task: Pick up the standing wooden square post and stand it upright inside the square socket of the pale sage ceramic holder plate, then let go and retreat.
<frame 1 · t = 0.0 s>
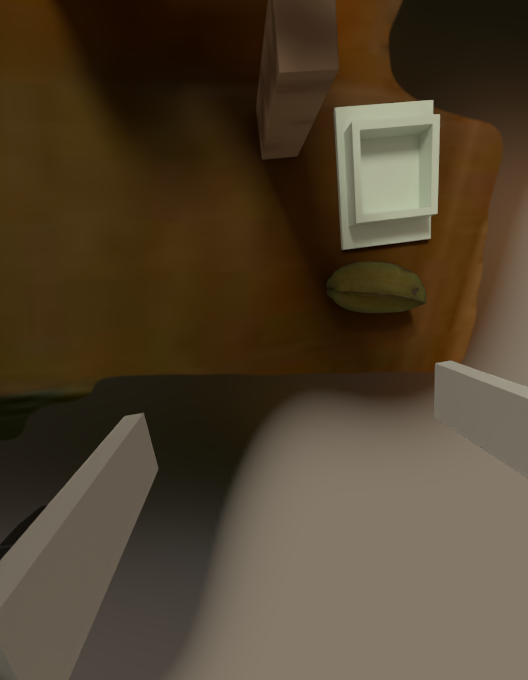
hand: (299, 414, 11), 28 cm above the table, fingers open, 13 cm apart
fruit: (361, 291, 39), on the table
holder plate: (383, 179, 36), on the table
wooden square post: (277, 132, 33), on the table
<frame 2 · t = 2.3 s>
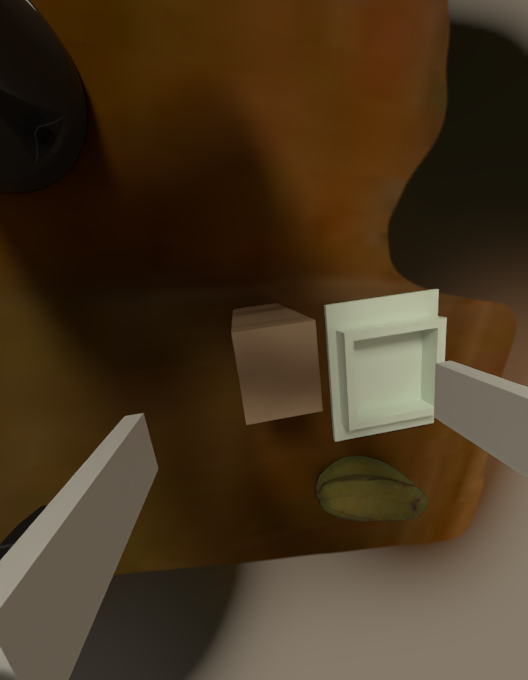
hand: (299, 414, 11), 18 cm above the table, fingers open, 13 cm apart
fruit: (356, 474, 35), on the table
holder plate: (381, 367, 31), on the table
wooden square post: (258, 331, 29), on the table
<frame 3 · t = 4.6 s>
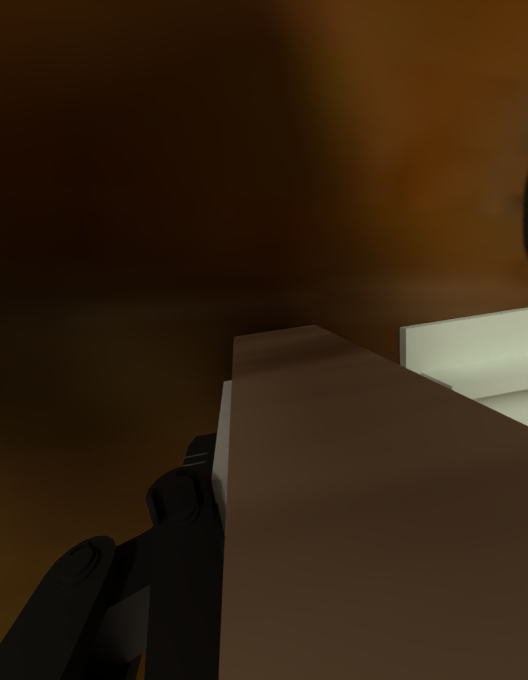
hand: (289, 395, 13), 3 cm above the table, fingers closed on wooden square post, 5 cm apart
holder plate: (489, 431, 18), on the table
wooden square post: (280, 376, 16), on the table, touching gripper
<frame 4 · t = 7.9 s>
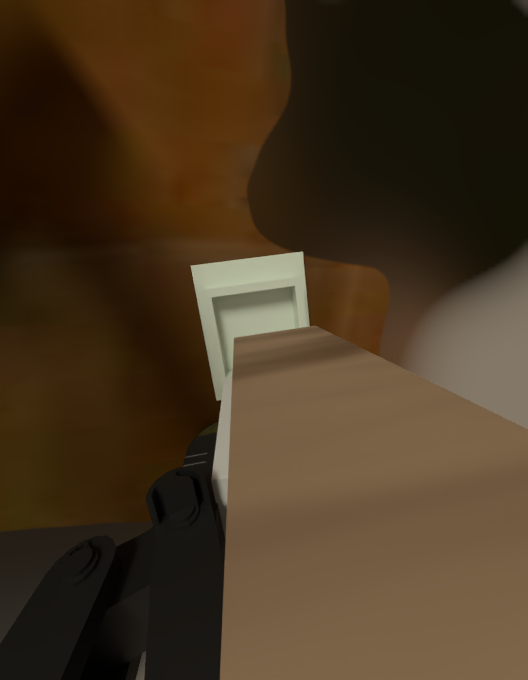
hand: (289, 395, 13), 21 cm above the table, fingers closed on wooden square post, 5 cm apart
holder plate: (257, 328, 33), on the table
wooden square post: (280, 377, 16), point 18 cm above the table, touching gripper
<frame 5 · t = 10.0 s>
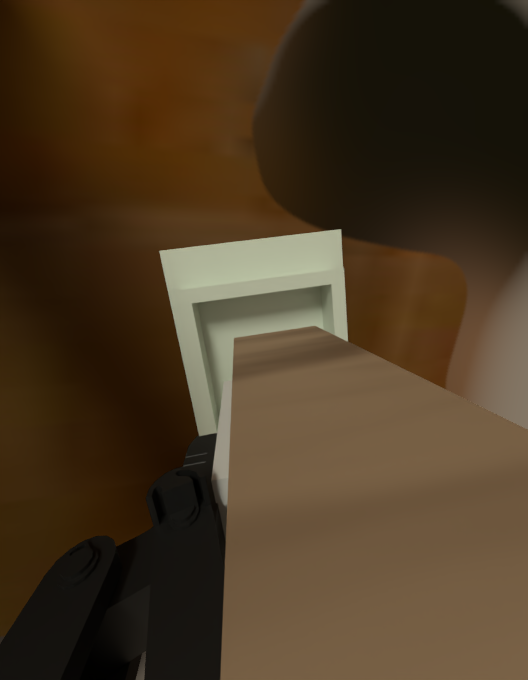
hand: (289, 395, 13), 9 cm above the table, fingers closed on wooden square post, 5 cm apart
holder plate: (266, 350, 21), on the table
wooden square post: (280, 378, 16), point 6 cm above the table, touching gripper
when the fingers open (5 cm above the table, at t = 11.5 s): wooden square post drops 2 cm, resting on holder plate.
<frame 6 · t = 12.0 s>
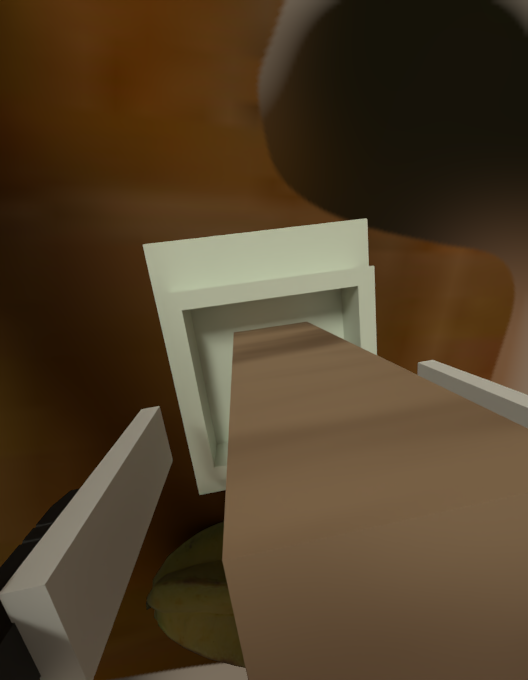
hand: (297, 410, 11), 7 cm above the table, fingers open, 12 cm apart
fruit: (248, 547, 21), on the table
holder plate: (274, 365, 18), on the table
wooden square post: (276, 368, 17), point 1 cm above the table, touching holder plate
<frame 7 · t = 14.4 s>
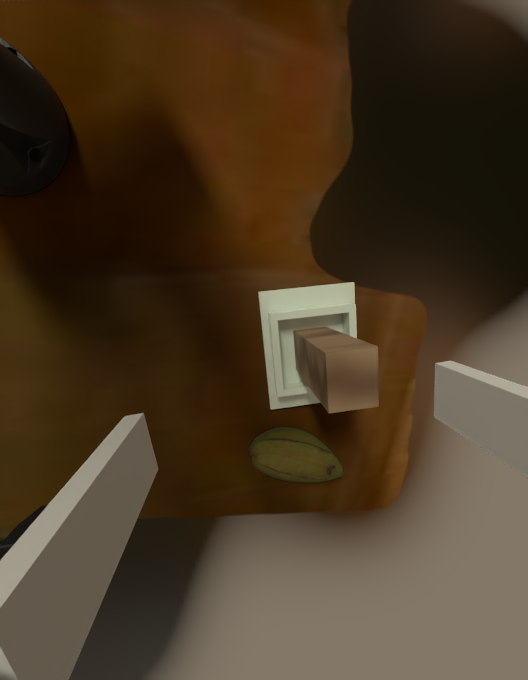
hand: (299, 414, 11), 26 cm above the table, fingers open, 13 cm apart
fruit: (290, 444, 41), on the table
holder plate: (309, 347, 37), on the table
wooden square post: (310, 348, 37), point 1 cm above the table, touching holder plate
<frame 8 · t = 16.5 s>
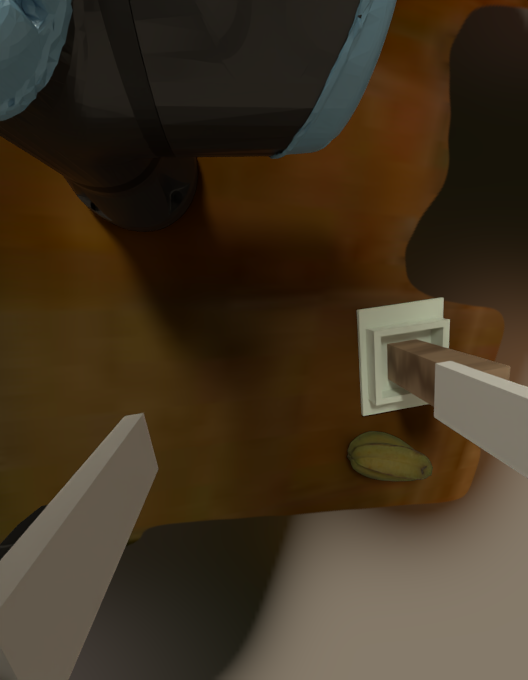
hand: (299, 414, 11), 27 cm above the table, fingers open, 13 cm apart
fruit: (376, 447, 44), on the table
holder plate: (399, 357, 41), on the table
wooden square post: (401, 359, 40), point 1 cm above the table, touching holder plate
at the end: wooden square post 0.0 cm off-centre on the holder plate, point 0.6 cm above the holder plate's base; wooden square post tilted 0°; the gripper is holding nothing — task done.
